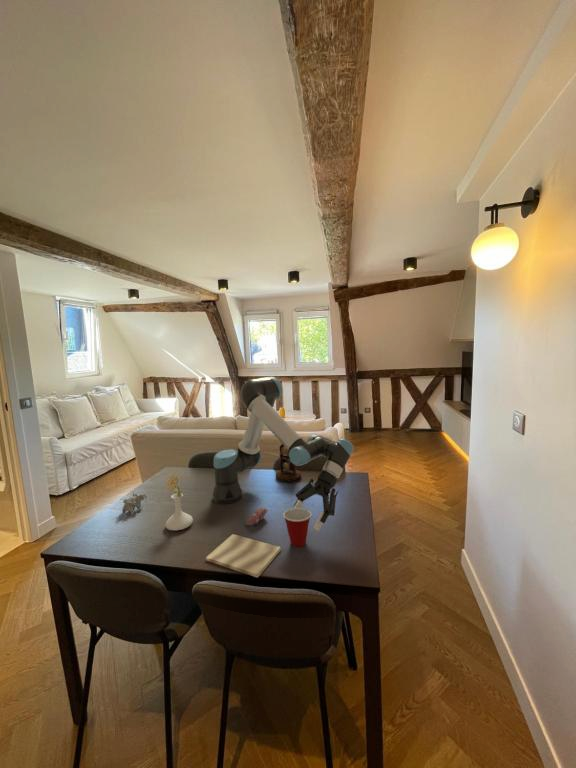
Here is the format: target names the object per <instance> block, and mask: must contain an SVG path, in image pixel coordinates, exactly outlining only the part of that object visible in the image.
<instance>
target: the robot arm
mask: <svg viewBox="0 0 576 768" xmlns="http://www.w3.org/2000/svg"><path fill="white" fill-rule="evenodd" d="M282 395H283V386H282V383H281V382H280V381H279V379H278V378H276V377H275V376H265V377H258V378H252V379H248V380H247V381H245V382H244V383H243V384H242V386H241V389H240V399H241V402H242V404H243V405H244V407H245V408H246V409H247V410H248V412H250V414H249V417H248V421H247V424H246V427H245V430H244V434H243V438H242V440H241V441H239V442H238V445H237V448H236V449H232V448H231V449H228V448H227V449H223V450H220V451H219V452H217V453H216V454H214V456H213V464H212V465H213V468H214V470H213V472H214V488H213V492H212V500H213V502H214V503H215V504H223V505H225V504H232V503H236V502H238V501H239V500H242V498H243V496H244V493H243V488H242V487H241V485H240V482H239V474H240V473H242V472H246V471H248V470H251V469H253V468H255V467H256V466H258V465H259V464H260V463H261V460H262V451H261V448H260V446H259V443H260V440H261V437H262V434H263V431H264V428H265V427H266V428H267V429H268V430H269V431H270V432H271V433H272V434H273V435H274V436H275V437H276V438H277V440H278V441H279V442H280V443H281V444H283V445H284V446H285V447H286V448H287V449H288V450H289V458H290V460H291V462H292V463H293V464H294V465H296V467H299V466H301V467H302V466H303V465H306V464H308V463H309V462H311V461H313V460H315V459H317V458H319V457H321V456H322V457H325V458H327V460H326V461H325V463H324V465H323V467H322V469H321V471H320V473H319V474H318V476H317V480H315V479H313V478H311V479H310V480H309V481H308V483H306V485H305V486H304V487H302V488H301V489H300V490H299V491H298V492H297V493H295V497H296V499H297V500H296V501H295V503H294V505H293V507H294V508H301V509H302V507H303V505H304V501H306V500H308V499H309V498H311V497H313V496H315V495H318V496H321V498H322V504H323V505H322V506H323V511H321V512H320V514H319V516H318V518H317V520H316V522H315V524H314V525H313V529H314V530H315V531H317V532H320V530H321V528H322V526H323V524H325V523H326V521H327V520H328V518H329V516H332V517H333V516H335V513H336V512H335V511H336V502H337V501H336V500H337V496H338V493H339V492H338V490H337V489H336V488H335V487H336V484H337V482H338V479H339V478H340V477H341V475H342V472H343V471H344V469H345V467H346V465H347V463H348V461H349V459H350V458H351V455H352V454H353V452H354V447H355V446H354V445H353V443H351V442H350V441H349V440H347V439H345V438H338V440H337V441H333V440H331V439H329V438H326V437H325V436H322V435H318V434H315V433H312V434H311V435H310V436H309V437H308V438H307V440H306V441H305V440H304V439H303V438H302V437H301V436H300V435H299V433H297V432H296V431H295V430H294V428H292V426H291V425H290V424H289V423H288V422H287V421H286V420H285V419H284V418H283V416H281V414H279V413H278V412H277V411H276V409H274V406H275V402H276V400H279V399H280V398H281V397H282ZM329 494H330V495H329ZM294 508H292V509H294Z"/></svg>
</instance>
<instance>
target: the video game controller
mask: <svg viewBox="0 0 576 768" xmlns="http://www.w3.org/2000/svg"><path fill="white" fill-rule="evenodd" d="M267 513H268V509H267V508H265V507H261V508H258V509H257V510H255V512H254V513H253V514H252V515H251V516H250V517H249V518H248V519H246V521H245V524H246V525H247V526H252V525H253V524H255V525H257V524H258V523H259V522H260V521H262V520H263V519H264V517H265V516H266V515H267Z"/></svg>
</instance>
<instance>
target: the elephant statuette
mask: <svg viewBox="0 0 576 768" xmlns="http://www.w3.org/2000/svg"><path fill="white" fill-rule="evenodd" d="M147 498H148V496H147V495H146V493H142V494H139V493H135V492H132V496H130V497H129V498H128V499H126V498H125V499H124V500H123V503H124V504H123V506H122V511H121V512H122V513H123V514H125V513H126V512H129V513H130V515H131V516H135V514H136V513H135V511H134V509H135V508H137V511H138V512H141V511H142V510H143V509H142V501H144V500H145V499H147Z"/></svg>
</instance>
